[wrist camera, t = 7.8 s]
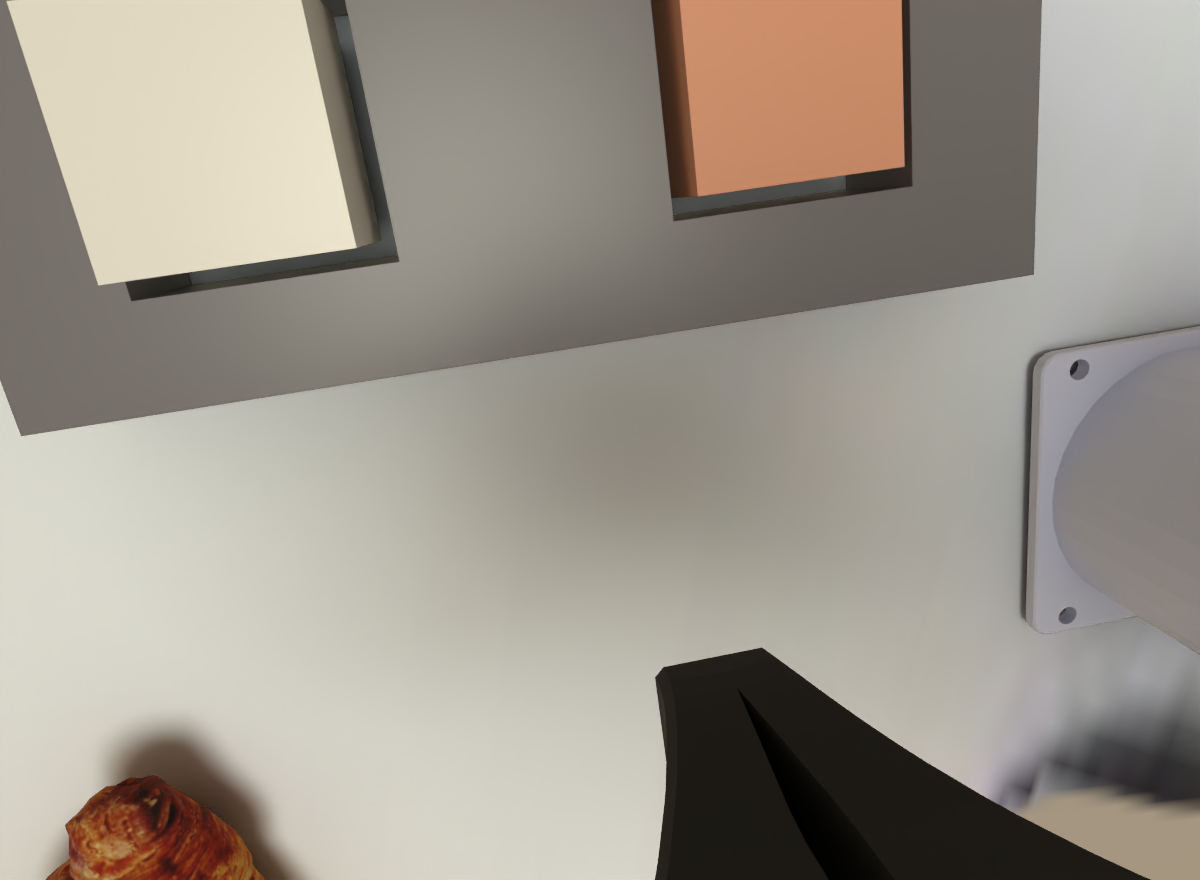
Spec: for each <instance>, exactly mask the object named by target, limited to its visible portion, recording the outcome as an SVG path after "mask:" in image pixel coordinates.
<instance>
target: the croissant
mask: <svg viewBox="0 0 1200 880" xmlns="http://www.w3.org/2000/svg"><path fill="white" fill-rule="evenodd" d="M65 826H66V830H67V832H68V834H69V855H70V859H69V860H68V861H67V862H65V863H64V864H62V865H61V866H60V867H58V868H57V869H56V870H55V871H54V872H53V873H52V874H51V875H50V876H48V877H47V879H46V880H265V878H264V877H263V876H262V875H261V874H260V873H259V872H258V870H257V869H256V868H255V867H254V866H253V865H252V855H251V853H250V852H249V850H248V848H247V846H246V845H245V843H244V842H243V840H242V838H241V837H240V836H239V835H238V834H237V832H236V831H235V830H234V829H233V828H232V827H230V826H229V825H228V824H226V823H225V822H224V821H223V820H221V819H220V818H219V817H217V816H216V815H215V814H214V813H212V812H211V811H209V810H208V809H207V808H205V807H203V806H202V805H200V804H199V803H197V802H196V801H194V800H193V799H191V798H190V797H188V796H186V795H184V794H183V793H181V792H179V791H177V790H176V789H174V788H172V787H171V786H169V785H168V784H167V783H166V782H164V781H163V780H162V779H160V778H159V777H157V776H154V775H152V776H148V777H144V778H129V779H127V780H125V781H122V782H121V783H119V784H117V785H116V786H108V787H105V788H104V789H102V790H101V791H100V792H98V793H97V794H96V795H94V796H93V797H92V798H90V799H89V801H88V802H87V803H86V804H85V805H84V807H83V808H82V809H81V810H80V812H79V813H78V814H77V815H76V816H74V817H73V818H72V819H71V820H70V821H69V822H68V823H67V824H66V825H65Z"/></svg>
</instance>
